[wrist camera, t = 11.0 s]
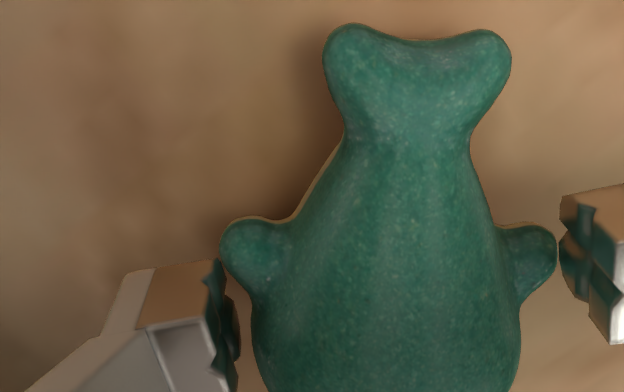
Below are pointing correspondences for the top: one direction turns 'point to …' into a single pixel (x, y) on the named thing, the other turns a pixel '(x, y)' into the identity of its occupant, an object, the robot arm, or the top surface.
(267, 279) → the whale figurine
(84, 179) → the top surface
